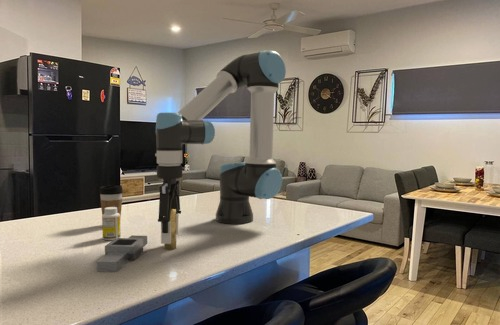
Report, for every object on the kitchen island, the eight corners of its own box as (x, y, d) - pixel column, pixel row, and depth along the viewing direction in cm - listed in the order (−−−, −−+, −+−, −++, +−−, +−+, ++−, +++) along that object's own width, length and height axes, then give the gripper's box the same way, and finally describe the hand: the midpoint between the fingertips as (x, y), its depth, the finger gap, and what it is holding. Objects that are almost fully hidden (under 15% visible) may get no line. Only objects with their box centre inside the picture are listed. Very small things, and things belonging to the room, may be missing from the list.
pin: (177, 246, 118) (177, 208, 117) (174, 250, 114) (174, 210, 113) (166, 246, 118) (165, 208, 117) (162, 249, 114) (162, 210, 113)
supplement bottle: (114, 235, 130) (114, 205, 129) (123, 238, 126) (123, 207, 126) (99, 238, 126) (98, 208, 125) (108, 241, 122) (107, 210, 121)
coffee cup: (116, 228, 138) (115, 187, 137) (95, 227, 140) (94, 187, 139) (127, 223, 147) (127, 184, 145) (108, 222, 148) (107, 183, 147)
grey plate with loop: (127, 243, 121) (126, 230, 121) (151, 243, 121) (151, 231, 120) (91, 271, 97) (90, 255, 96) (122, 271, 96) (121, 256, 96)
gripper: (166, 161, 125) (167, 229, 127) (145, 167, 103) (146, 249, 105) (189, 161, 124) (189, 230, 126) (173, 168, 103) (173, 250, 105)
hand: (170, 238), depth 116 cm, fingers open, 9 cm apart
